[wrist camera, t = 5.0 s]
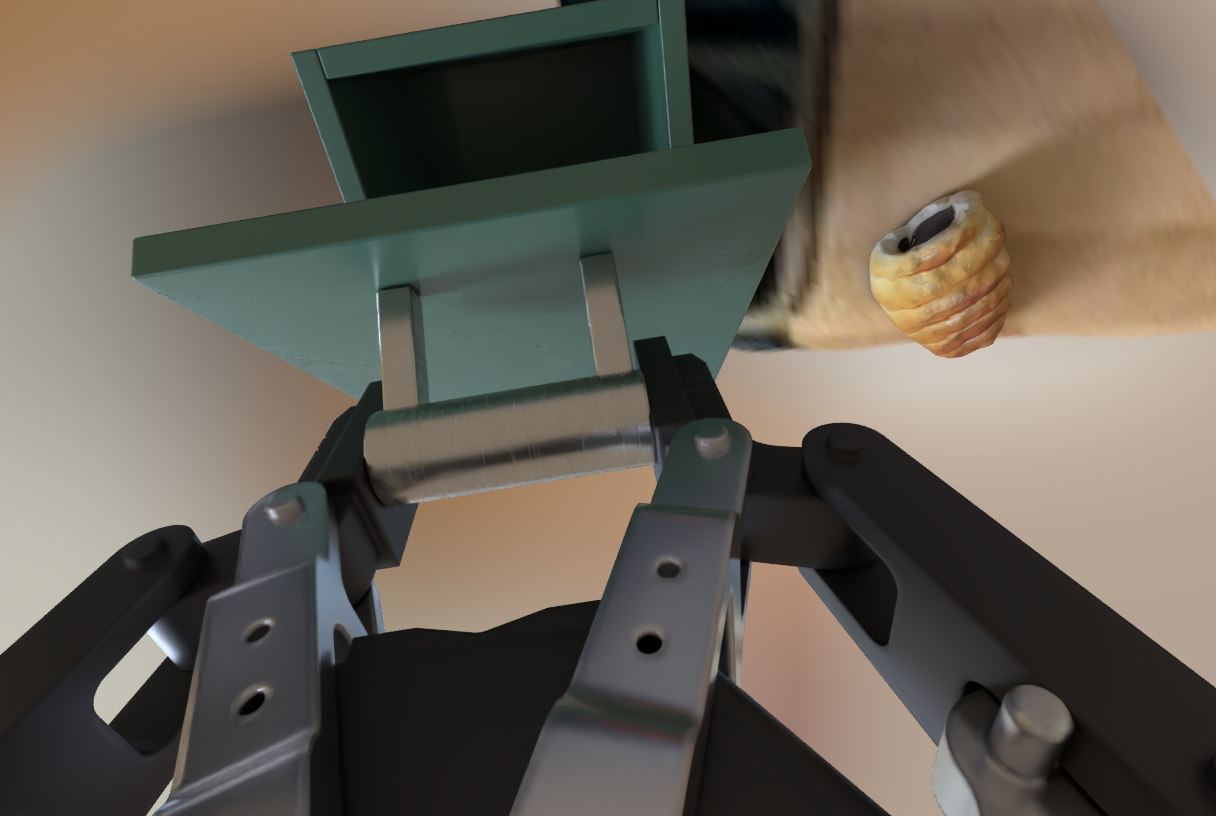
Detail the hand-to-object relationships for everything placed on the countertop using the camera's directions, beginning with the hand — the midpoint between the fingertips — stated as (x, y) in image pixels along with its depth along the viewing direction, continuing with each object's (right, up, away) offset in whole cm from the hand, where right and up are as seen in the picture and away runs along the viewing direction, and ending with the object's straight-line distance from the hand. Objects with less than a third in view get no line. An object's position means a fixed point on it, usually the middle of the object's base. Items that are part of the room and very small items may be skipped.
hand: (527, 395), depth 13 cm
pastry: (+20, +8, +20) cm, 30 cm away
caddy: (-2, +11, +16) cm, 20 cm away
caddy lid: (0, +2, +3) cm, 4 cm away
